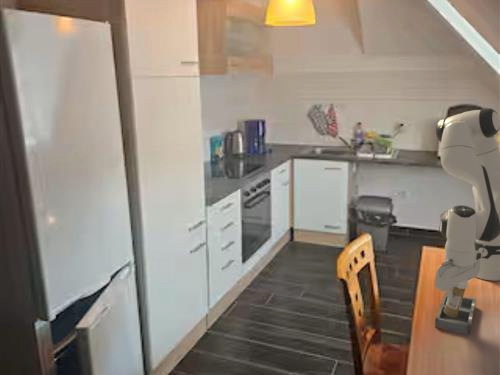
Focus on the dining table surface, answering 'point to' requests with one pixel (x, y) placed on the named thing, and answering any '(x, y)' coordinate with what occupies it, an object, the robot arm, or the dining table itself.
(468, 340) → the dining table surface
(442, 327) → the grey divided tray
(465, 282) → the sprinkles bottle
